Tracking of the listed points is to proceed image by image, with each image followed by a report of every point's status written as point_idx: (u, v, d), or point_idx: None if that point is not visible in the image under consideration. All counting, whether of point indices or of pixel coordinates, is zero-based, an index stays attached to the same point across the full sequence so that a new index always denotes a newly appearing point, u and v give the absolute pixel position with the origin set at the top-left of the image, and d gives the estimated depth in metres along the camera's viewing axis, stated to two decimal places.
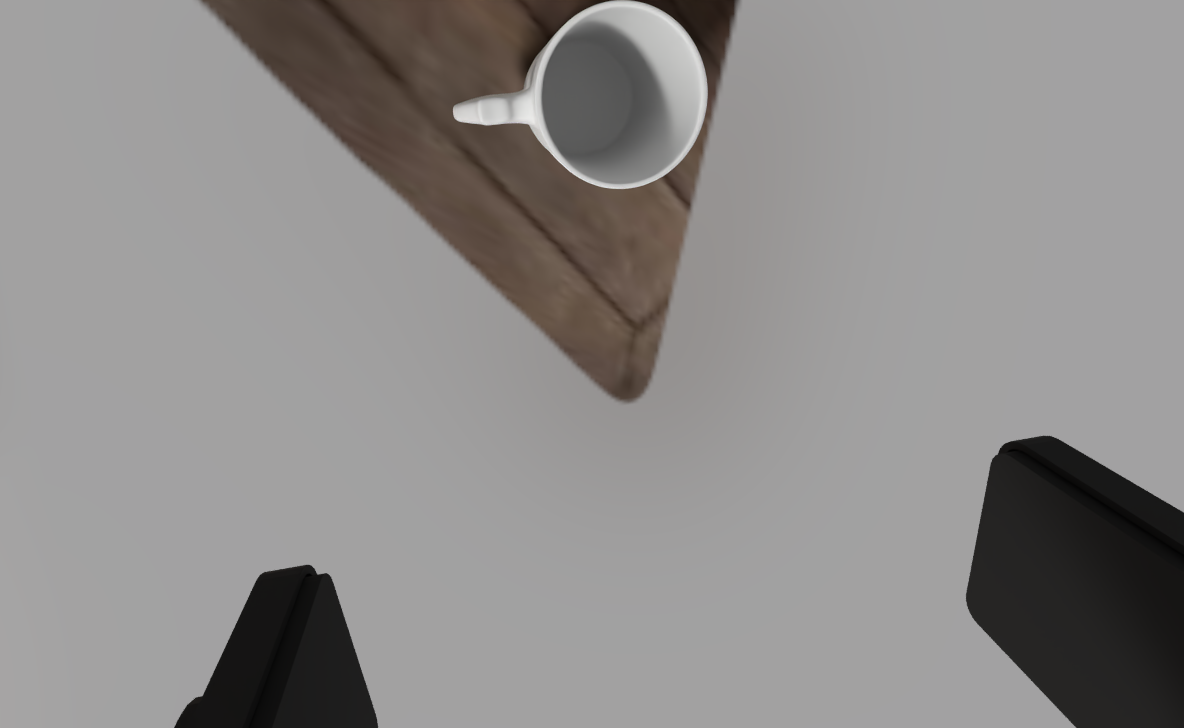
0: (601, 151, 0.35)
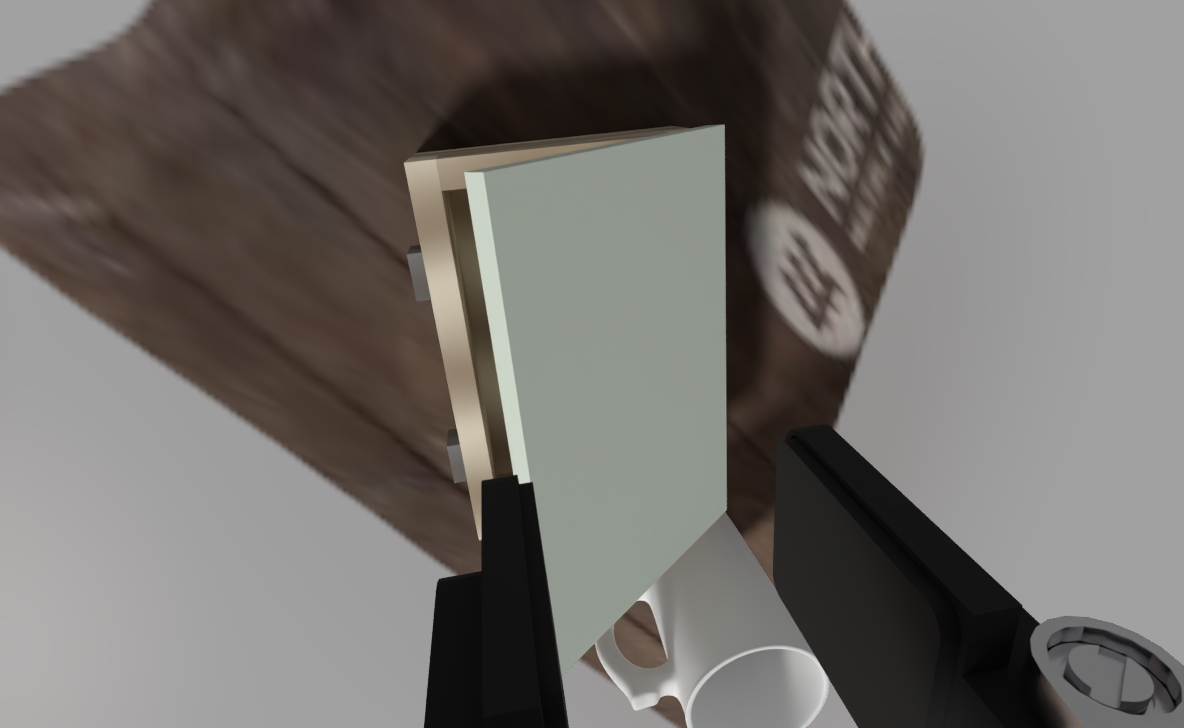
0: None
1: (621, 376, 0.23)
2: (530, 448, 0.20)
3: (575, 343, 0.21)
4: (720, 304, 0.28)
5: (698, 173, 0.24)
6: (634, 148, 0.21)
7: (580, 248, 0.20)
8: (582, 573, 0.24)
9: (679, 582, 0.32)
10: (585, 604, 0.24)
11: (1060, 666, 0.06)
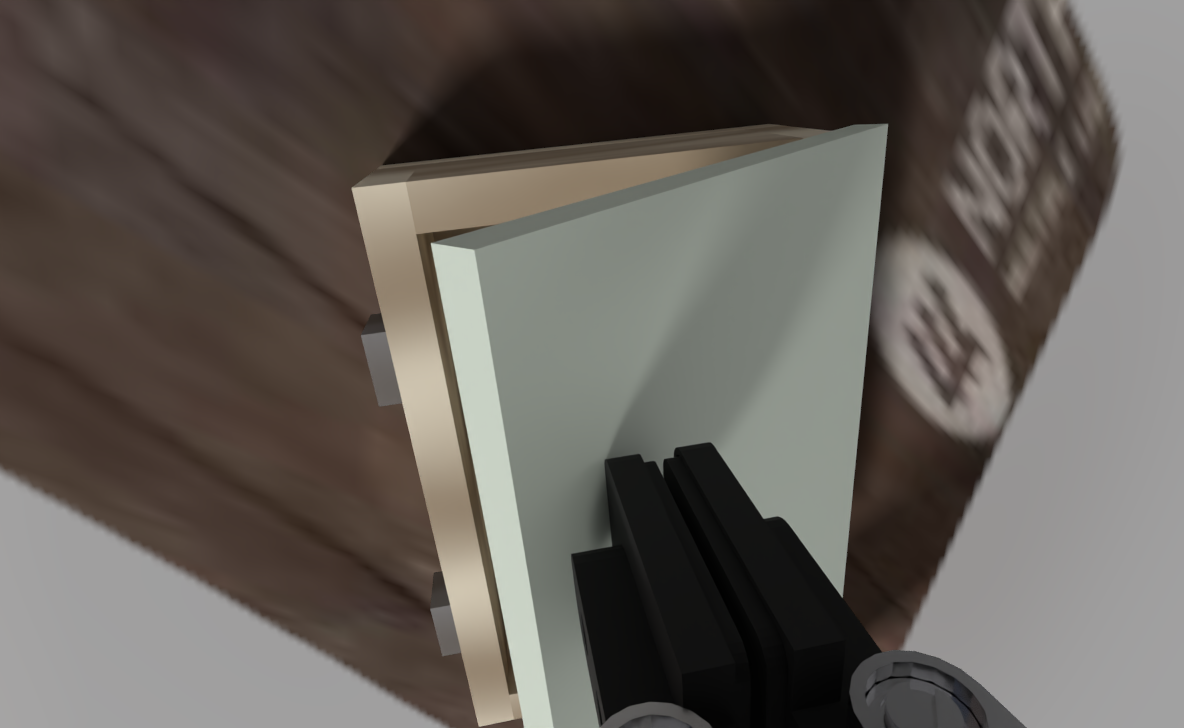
0: None
1: None
2: None
3: None
4: (855, 405, 0.18)
5: (850, 206, 0.14)
6: (767, 171, 0.11)
7: (670, 370, 0.10)
8: None
9: None
10: None
11: (879, 713, 0.06)
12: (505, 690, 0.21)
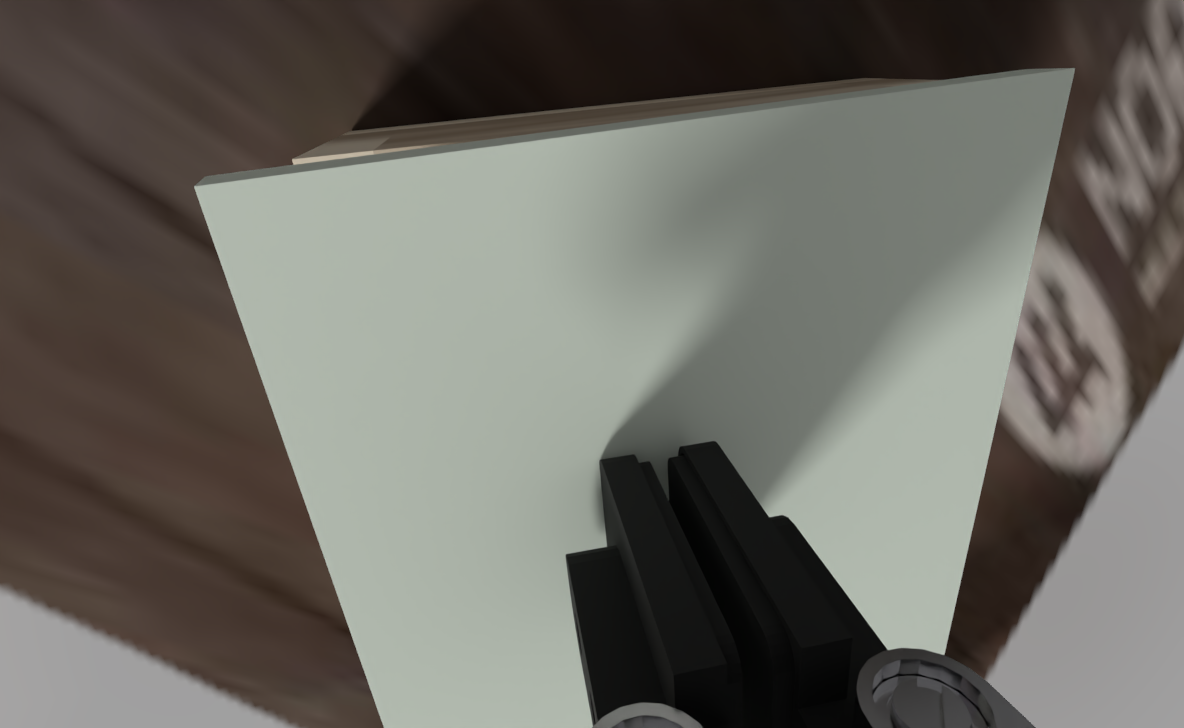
0: None
1: None
2: None
3: (535, 553, 0.10)
4: (972, 462, 0.13)
5: (964, 188, 0.10)
6: (758, 126, 0.08)
7: (555, 363, 0.08)
8: None
9: None
10: None
11: (886, 710, 0.06)
12: None
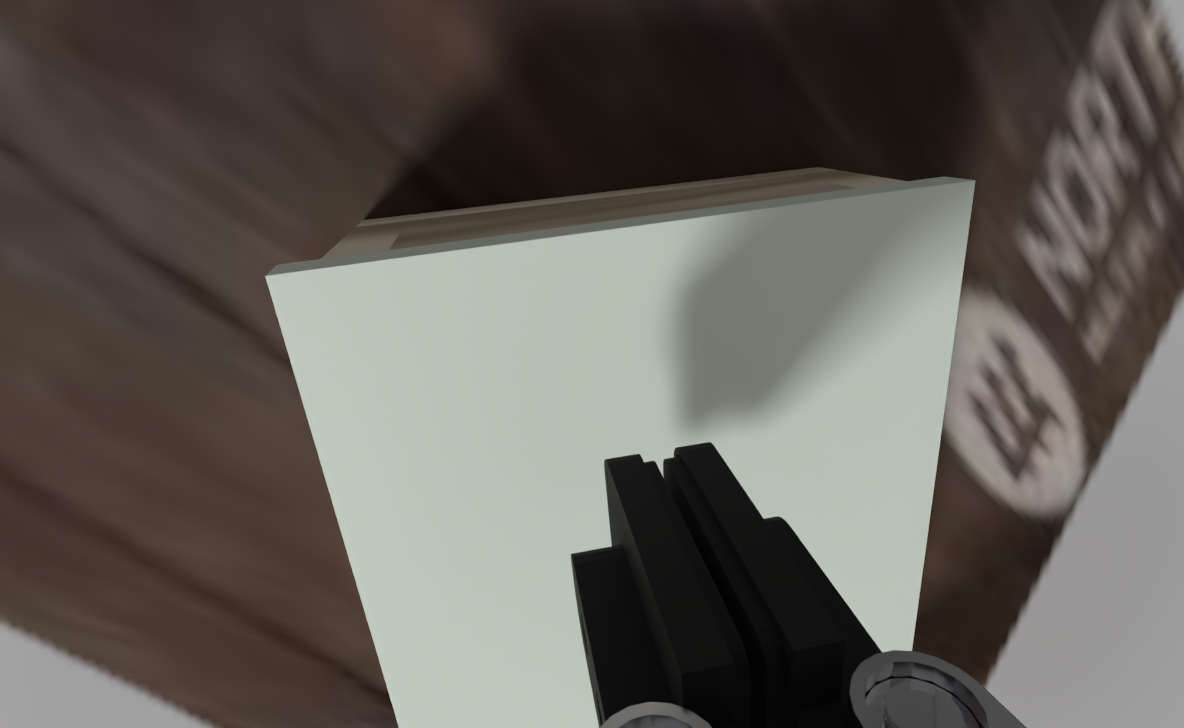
0: None
1: None
2: (396, 679, 0.13)
3: (500, 546, 0.12)
4: (913, 513, 0.14)
5: (872, 278, 0.12)
6: (673, 232, 0.11)
7: (513, 402, 0.11)
8: None
9: None
10: None
11: (880, 713, 0.06)
12: None
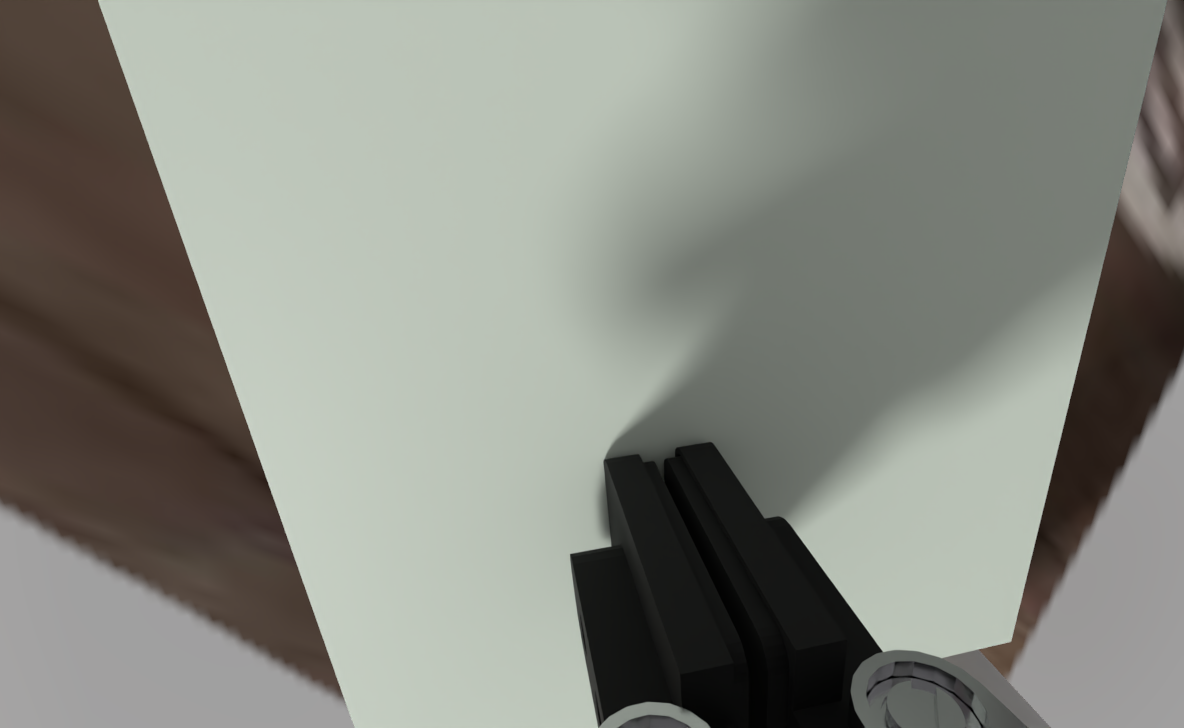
0: None
1: (604, 120, 0.07)
2: (197, 220, 0.07)
3: None
4: (1134, 15, 0.08)
5: None
6: None
7: None
8: (442, 610, 0.10)
9: None
10: (456, 677, 0.10)
11: (881, 712, 0.06)
12: None
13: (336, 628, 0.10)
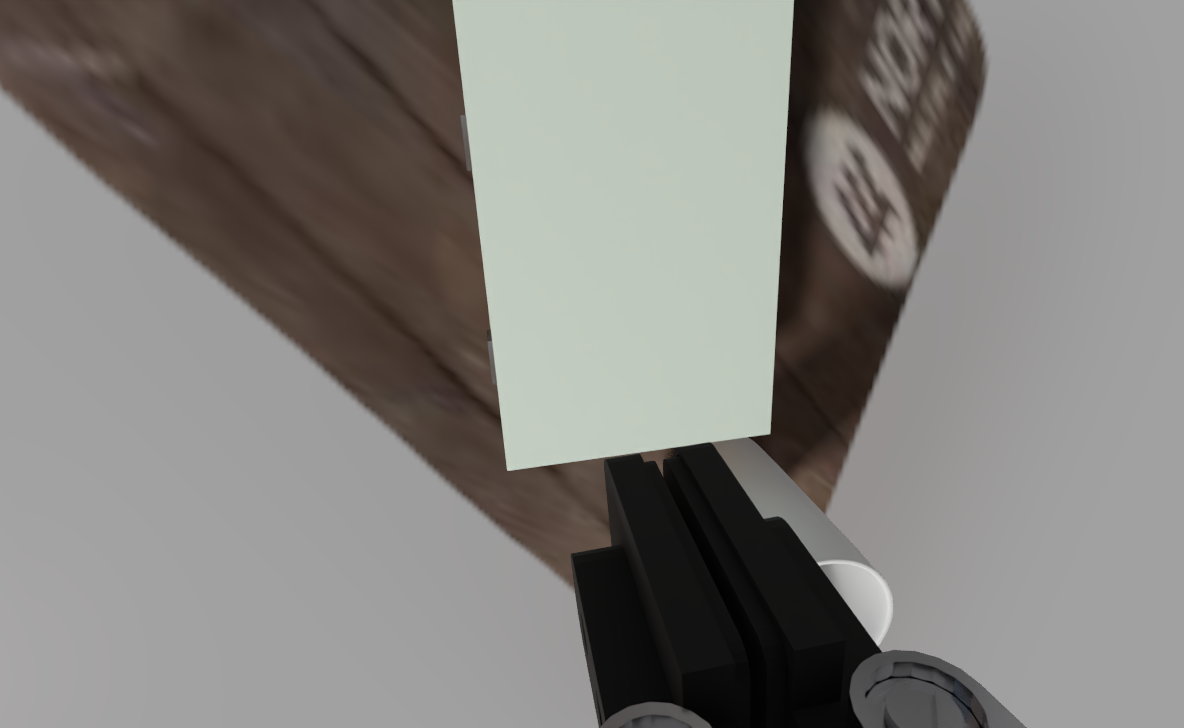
0: None
1: (605, 221, 0.25)
2: (486, 246, 0.25)
3: (546, 170, 0.24)
4: (773, 193, 0.26)
5: (742, 37, 0.24)
6: None
7: (558, 82, 0.23)
8: (541, 389, 0.27)
9: None
10: (542, 420, 0.28)
11: (880, 713, 0.06)
12: None
13: (503, 392, 0.27)
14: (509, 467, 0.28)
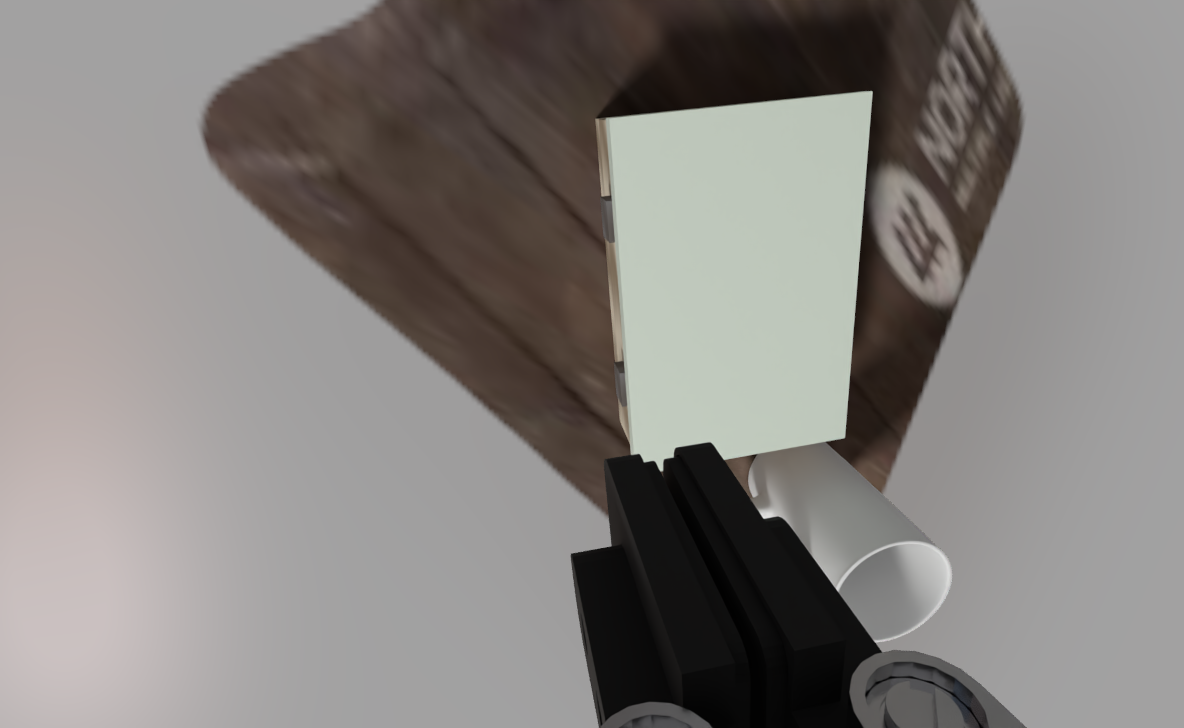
0: None
1: (719, 278, 0.31)
2: (627, 303, 0.31)
3: (674, 242, 0.30)
4: (852, 248, 0.32)
5: (830, 131, 0.29)
6: (751, 108, 0.28)
7: (686, 175, 0.29)
8: (664, 410, 0.34)
9: (809, 499, 0.37)
10: (664, 435, 0.34)
11: (879, 713, 0.06)
12: None
13: (635, 414, 0.33)
14: None
